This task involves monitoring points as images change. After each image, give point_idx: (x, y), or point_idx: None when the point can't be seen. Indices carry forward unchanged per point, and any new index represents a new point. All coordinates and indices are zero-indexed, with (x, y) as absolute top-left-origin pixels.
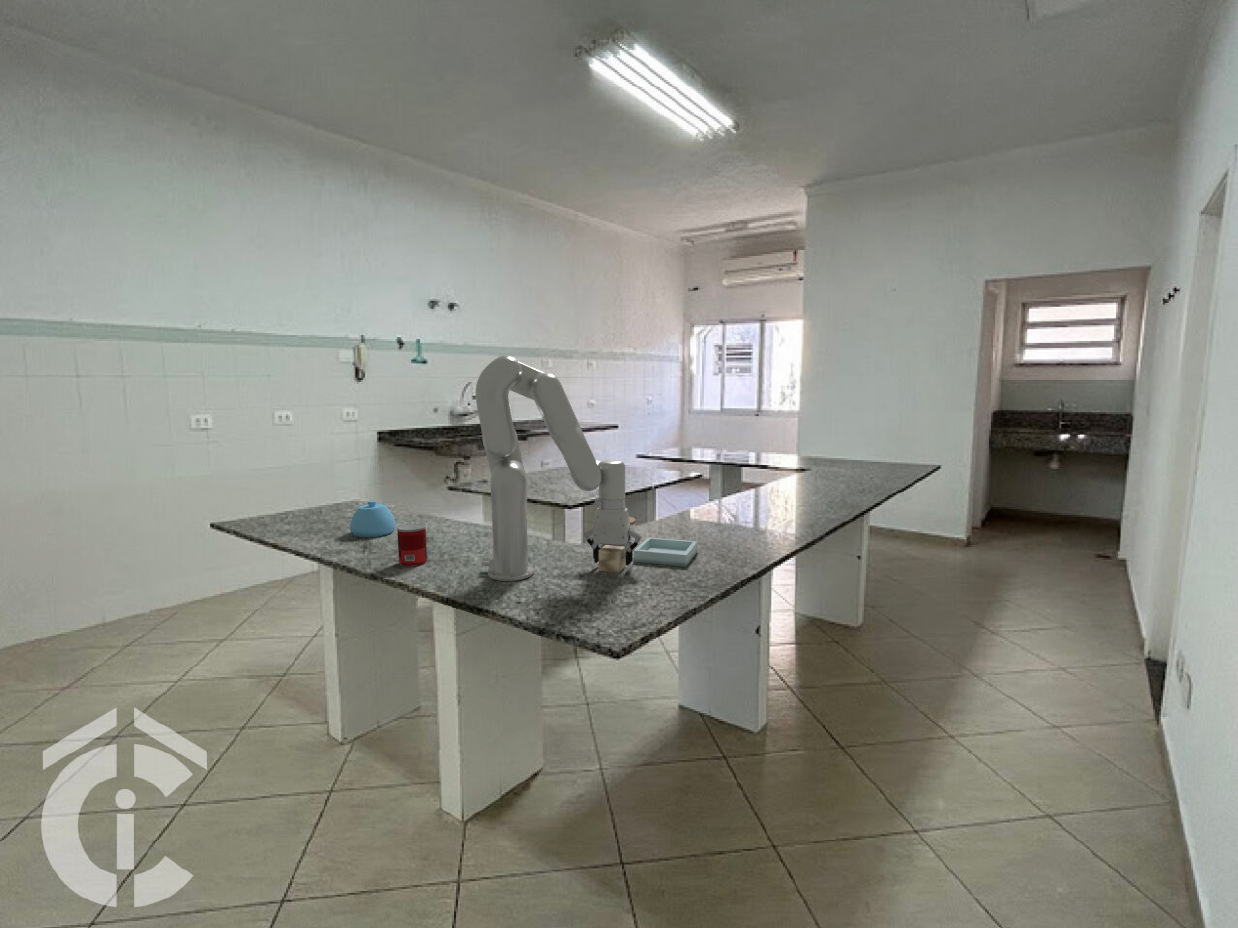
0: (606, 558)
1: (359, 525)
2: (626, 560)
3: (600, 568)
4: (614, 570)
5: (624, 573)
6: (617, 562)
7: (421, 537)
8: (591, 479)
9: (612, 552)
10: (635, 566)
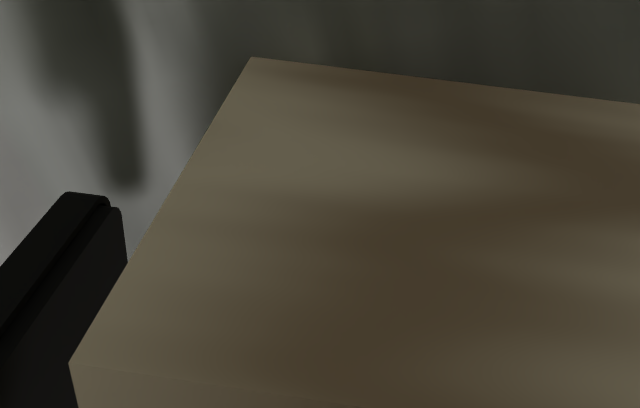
0: (547, 238)
1: None
2: (45, 251)
3: (637, 119)
4: (332, 76)
5: (132, 19)
6: (229, 150)
7: None
8: None
9: (343, 370)
10: None
